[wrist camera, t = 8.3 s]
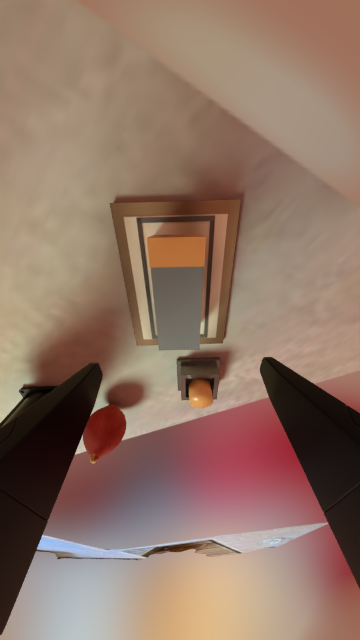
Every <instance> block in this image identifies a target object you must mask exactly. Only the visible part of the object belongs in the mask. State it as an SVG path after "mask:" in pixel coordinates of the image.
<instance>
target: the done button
mask: <svg viewBox="0 0 360 640" xmlns="http://www.w3.org/2000/svg"><path fill="white" fill-rule="evenodd" d="M188 388H189V402H190V404H191V405H192V406H193V407H196V408H205V407H208V406H210V405H211V404H212V403H213V396H212V391H211V386H210V382H209V380H207V379H206V378H194V379H192V380H191V381H190V382H189V384H188Z"/></svg>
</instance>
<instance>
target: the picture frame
mask: <svg viewBox="0 0 360 640" xmlns="http://www.w3.org/2000/svg"><path fill="white" fill-rule="evenodd" d="M240 203H241V199H236V200H202V201H169V202H135V203H110V207H111V213H112V218H113V223H114V228H115V233H116V239H117V244H118V249H119V254H120V260H121V265H122V270H123V275H124V281H125V286H126V291H127V296H128V301H129V307H130V312H131V317H132V322H133V328H134V333H135V338H136V343H137V346H141V345H158V336H157V326H156V316H155V307H154V297H153V287H152V277H151V268H150V265H149V256H148V246H147V238H148V237H150V236H153V235H174V234H201V235H203V236H205V237H206V246H205V264H204V269H203V288H202V308H201V327H200V344H215V343H223V339H224V331H225V323H226V315H227V307H228V299H229V291H230V283H231V275H232V267H233V259H234V251H235V243H236V235H237V227H238V219H239V211H240Z"/></svg>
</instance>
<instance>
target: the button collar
mask: <svg viewBox="0 0 360 640" xmlns="http://www.w3.org/2000/svg"><path fill="white" fill-rule="evenodd" d="M220 361H221V360H220V358H198V359H177V376H178V391H181V398H182V400H189V388H188V384H189V382H190V381H191V380H192V379H194V378H206V379H207V380H209V382H210V386H211V391H212V396H213V399H217V392H218V384H219V376H220V373H219V369H220Z"/></svg>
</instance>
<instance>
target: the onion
mask: <svg viewBox="0 0 360 640" xmlns="http://www.w3.org/2000/svg"><path fill="white" fill-rule="evenodd" d="M125 430H126V420H125V416H124V414H123V412H122V411H121V410H120V409H119V408H118V407H117V405H115V404H111V405H109V406H106V407H104V408H101V409H99V410H97V411H96V412H94V413H93V414H92V415H91V416H90V417H89V420H88V422H87V425H86V427H85V430H84V432H83V441H84V445H85V448H86V450H87V452H88V453H89V454H90V462H92V463H96V462H97V461H98V460H99V459H100V458H101V457H102V456H104V455H106V454H108V453H110V452H111V451H113V450H114V449H115V448H116V447H117V446H118V444H119V443H120V442H121V440H122V438H123V436H124V434H125Z"/></svg>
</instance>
